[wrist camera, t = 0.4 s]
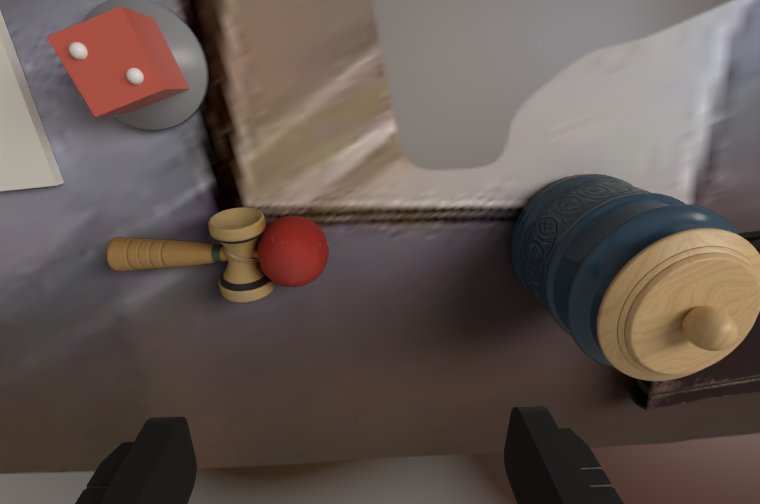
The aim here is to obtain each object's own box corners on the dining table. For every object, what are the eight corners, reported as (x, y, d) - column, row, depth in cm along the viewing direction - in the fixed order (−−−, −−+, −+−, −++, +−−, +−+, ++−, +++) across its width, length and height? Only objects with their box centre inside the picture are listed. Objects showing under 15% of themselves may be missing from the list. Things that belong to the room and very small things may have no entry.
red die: (57, 26, 31) (-12, 12, 25) (170, -20, 30) (128, -47, 24) (127, 145, 34) (81, 158, 28) (229, 104, 34) (205, 109, 28)
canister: (643, 160, 38) (867, 215, 22) (631, 286, 43) (807, 408, 27) (503, 183, 38) (627, 256, 22) (507, 307, 43) (611, 443, 27)
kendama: (148, 288, 40) (335, 287, 39) (102, 310, 34) (323, 309, 33) (137, 207, 39) (331, 203, 38) (86, 215, 33) (317, 210, 32)
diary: (822, 353, 50) (871, 381, 46) (619, 386, 49) (648, 418, 45) (875, 203, 43) (940, 218, 38) (638, 239, 42) (675, 259, 37)
